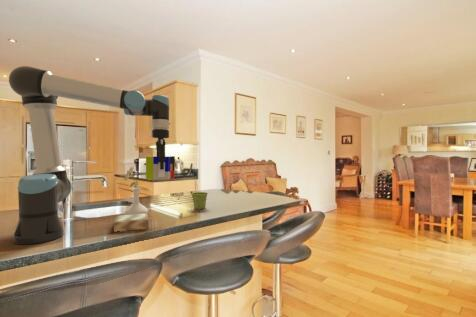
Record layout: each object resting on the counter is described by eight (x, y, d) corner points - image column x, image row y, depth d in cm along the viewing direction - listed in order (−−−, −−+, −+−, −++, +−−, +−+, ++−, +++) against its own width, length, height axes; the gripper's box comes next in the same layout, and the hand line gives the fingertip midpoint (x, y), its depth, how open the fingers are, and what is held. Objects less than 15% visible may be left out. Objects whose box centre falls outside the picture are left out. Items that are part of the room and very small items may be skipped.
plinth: (114, 232, 108) (113, 222, 108) (116, 224, 121) (116, 215, 121) (148, 228, 113) (148, 219, 113) (147, 221, 125) (147, 212, 125)
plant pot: (188, 209, 152) (188, 194, 152) (196, 206, 161) (195, 191, 161) (203, 210, 149) (203, 194, 149) (210, 207, 158) (210, 192, 158)
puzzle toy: (168, 179, 121) (168, 156, 121) (146, 179, 122) (146, 156, 122) (174, 177, 131) (174, 156, 131) (154, 177, 132) (154, 156, 132)
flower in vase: (134, 212, 146) (133, 165, 145) (152, 213, 143) (152, 165, 142) (117, 217, 133) (116, 166, 133) (137, 219, 130) (136, 166, 130)
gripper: (172, 127, 116) (171, 177, 116) (166, 131, 139) (166, 174, 139) (153, 126, 113) (153, 178, 114) (150, 131, 136) (150, 174, 136)
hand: (160, 175), depth 126 cm, fingers closed on puzzle toy, 12 cm apart
